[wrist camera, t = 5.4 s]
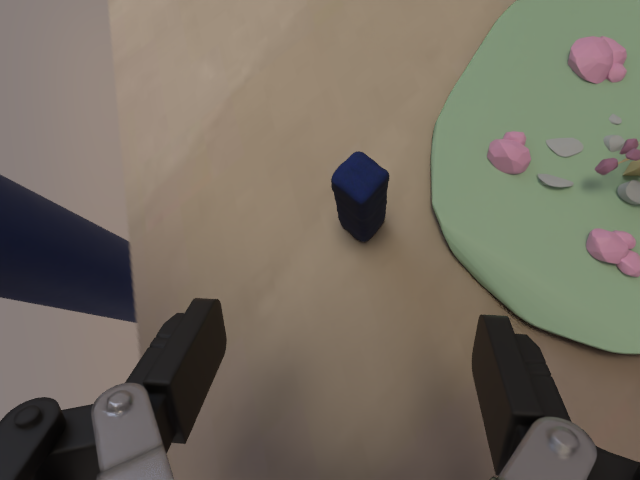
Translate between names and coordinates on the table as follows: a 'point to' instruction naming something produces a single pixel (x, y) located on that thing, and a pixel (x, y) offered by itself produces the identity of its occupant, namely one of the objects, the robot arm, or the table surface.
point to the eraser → (360, 195)
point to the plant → (549, 168)
